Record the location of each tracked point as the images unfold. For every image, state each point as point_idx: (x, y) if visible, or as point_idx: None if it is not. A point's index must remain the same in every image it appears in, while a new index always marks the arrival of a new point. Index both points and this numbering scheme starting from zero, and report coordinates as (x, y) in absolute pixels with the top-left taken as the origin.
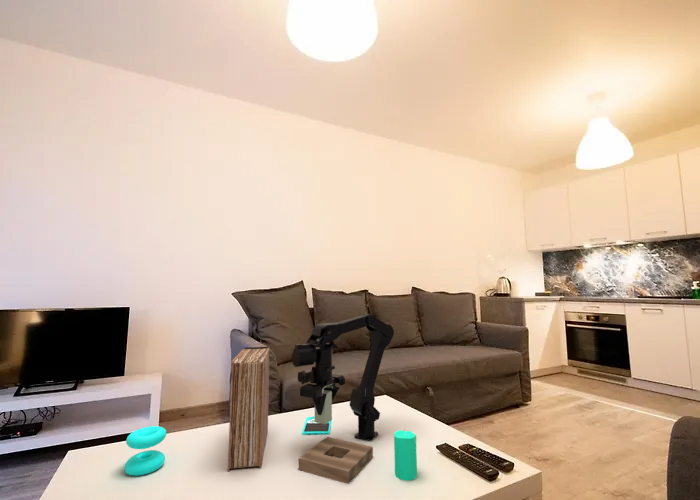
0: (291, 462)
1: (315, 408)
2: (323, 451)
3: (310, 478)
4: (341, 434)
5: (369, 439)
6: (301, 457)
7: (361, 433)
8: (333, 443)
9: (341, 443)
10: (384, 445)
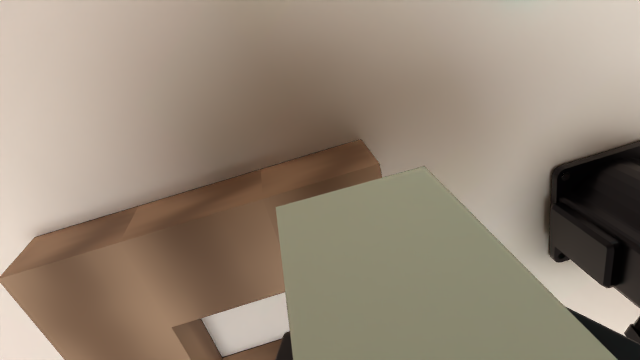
0: (33, 139)
1: (293, 349)
2: (199, 303)
3: None
4: (561, 69)
5: (553, 254)
6: (22, 283)
7: (566, 235)
8: None
9: None
10: None
